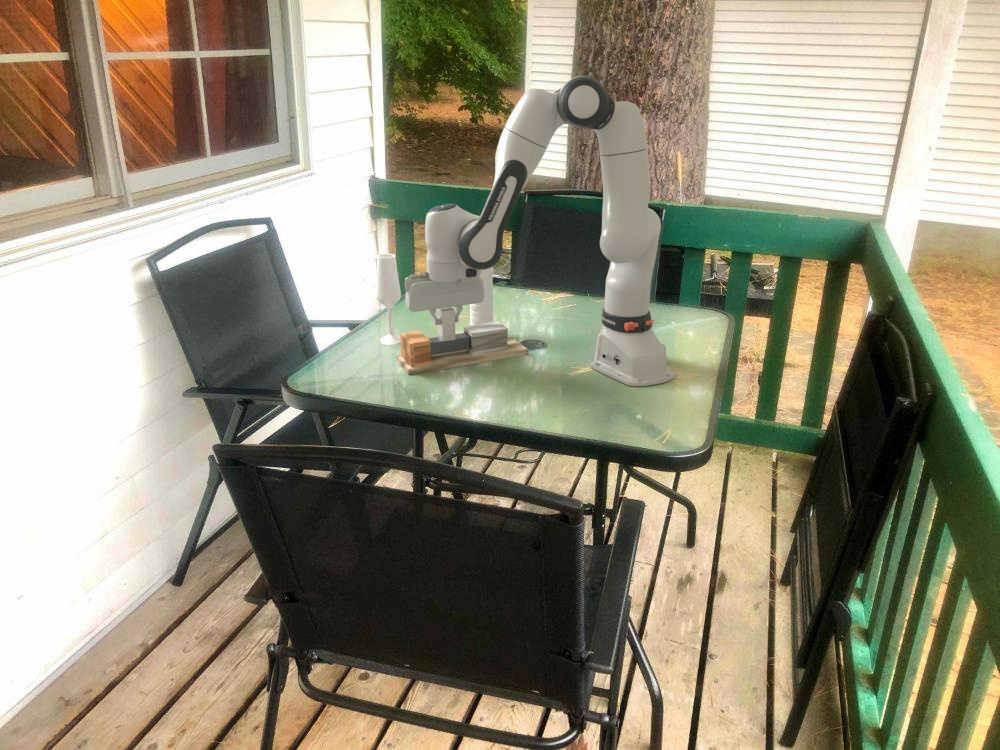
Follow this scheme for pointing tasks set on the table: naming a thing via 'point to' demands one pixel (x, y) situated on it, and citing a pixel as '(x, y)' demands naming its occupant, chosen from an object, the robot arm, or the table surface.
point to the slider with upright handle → (448, 334)
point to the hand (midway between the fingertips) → (445, 323)
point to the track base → (485, 346)
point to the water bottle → (484, 301)
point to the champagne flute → (388, 291)
